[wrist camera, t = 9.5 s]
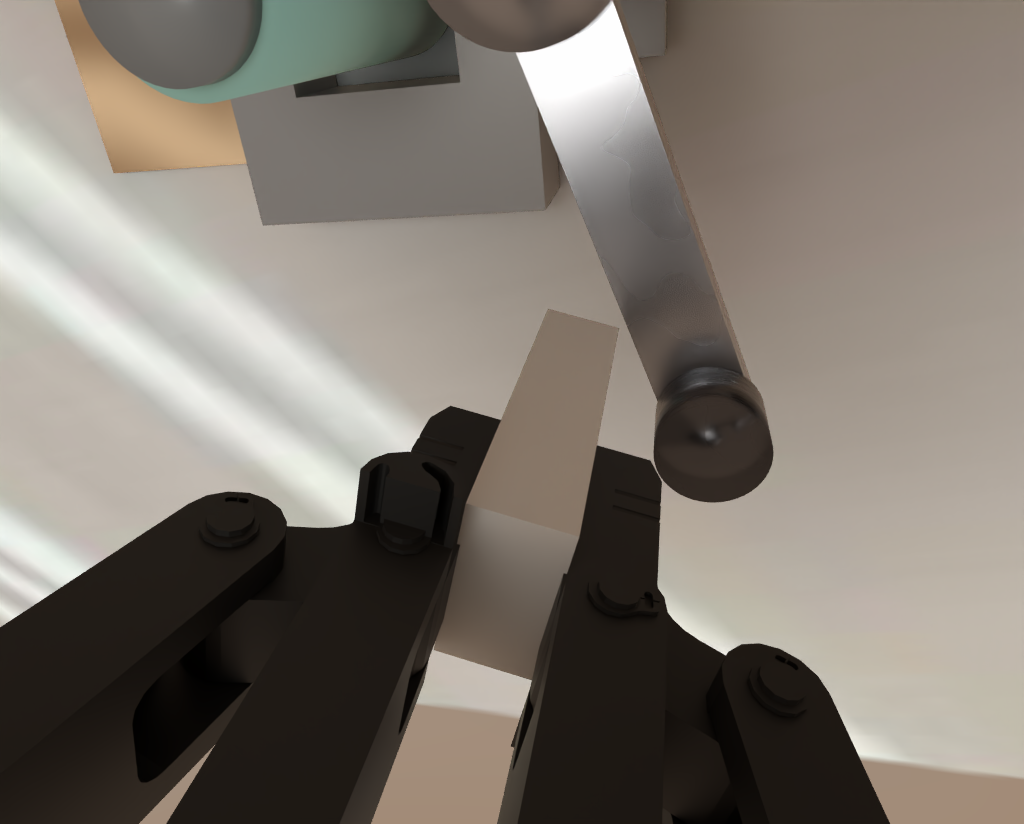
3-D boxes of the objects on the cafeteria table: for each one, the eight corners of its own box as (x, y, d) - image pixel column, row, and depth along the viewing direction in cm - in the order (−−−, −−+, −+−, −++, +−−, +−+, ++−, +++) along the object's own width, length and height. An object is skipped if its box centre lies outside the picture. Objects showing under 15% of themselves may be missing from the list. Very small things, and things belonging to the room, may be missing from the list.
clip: (409, -125, 13) (338, -155, 11) (596, -246, 12) (572, -316, 9) (648, 440, 18) (642, 521, 15) (801, 397, 17) (825, 477, 14)
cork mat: (38, -78, 31) (27, -79, 30) (255, -114, 29) (248, -115, 28) (122, 170, 35) (113, 173, 35) (314, 156, 33) (308, 158, 33)
